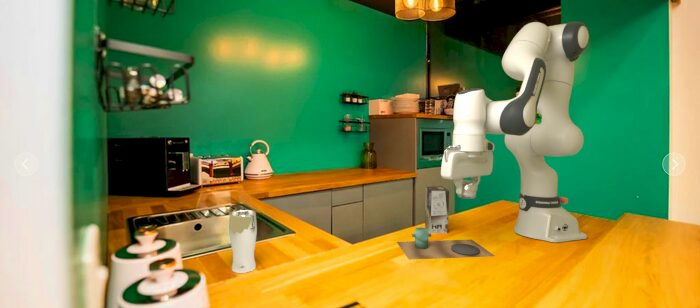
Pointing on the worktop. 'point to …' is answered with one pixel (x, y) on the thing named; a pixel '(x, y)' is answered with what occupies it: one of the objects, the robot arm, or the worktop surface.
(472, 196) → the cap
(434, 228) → the coffee box
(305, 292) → the worktop surface
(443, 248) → the base board
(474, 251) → the pad
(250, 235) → the beer glass
